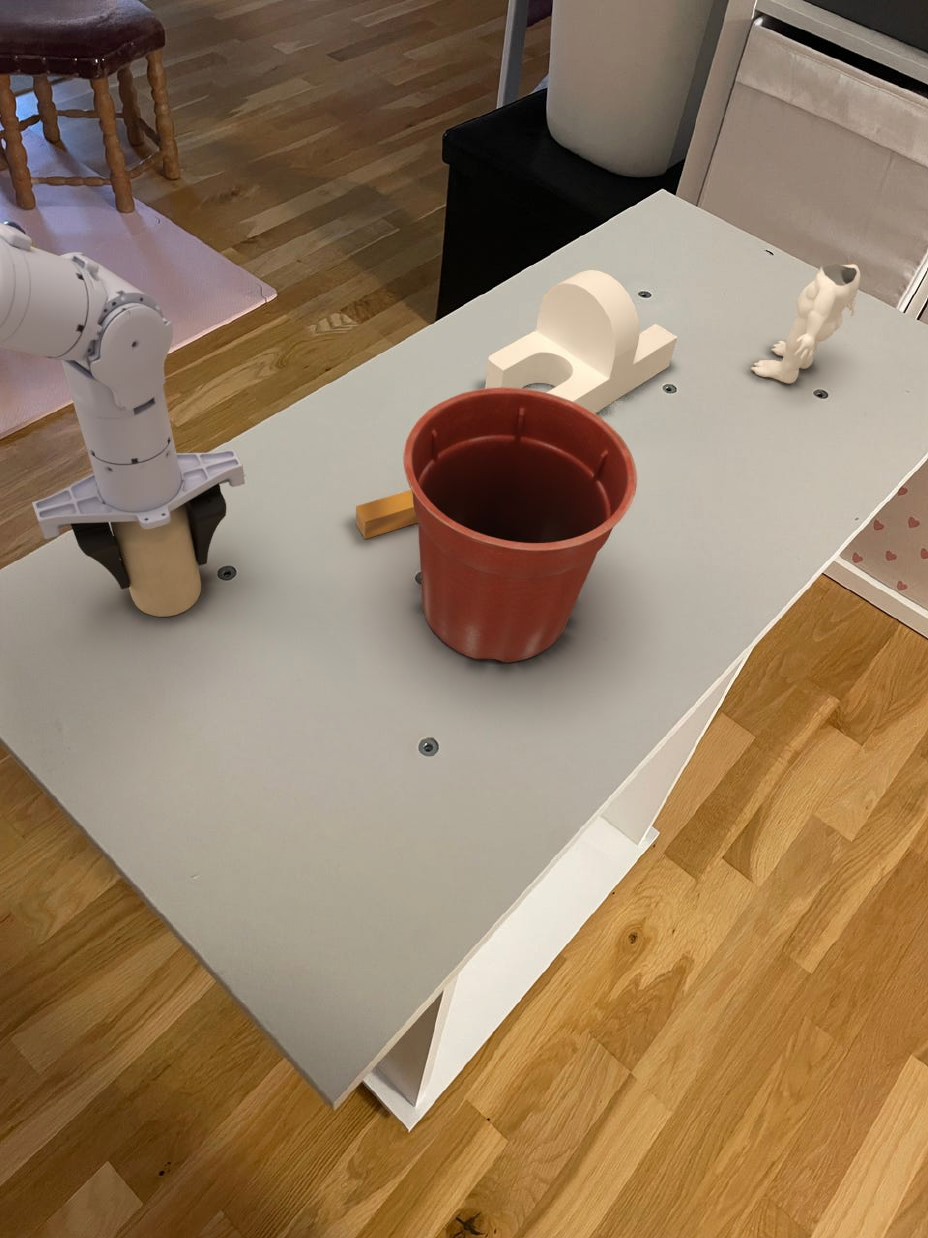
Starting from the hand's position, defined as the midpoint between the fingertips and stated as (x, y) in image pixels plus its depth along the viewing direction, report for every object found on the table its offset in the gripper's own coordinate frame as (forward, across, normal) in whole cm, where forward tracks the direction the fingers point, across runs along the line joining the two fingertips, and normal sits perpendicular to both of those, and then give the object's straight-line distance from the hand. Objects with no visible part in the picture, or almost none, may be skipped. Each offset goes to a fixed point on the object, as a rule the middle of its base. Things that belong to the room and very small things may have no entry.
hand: (160, 567), depth 78 cm
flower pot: (+3, +24, -12) cm, 27 cm away
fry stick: (+3, +24, 0) cm, 24 cm away
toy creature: (+3, +68, +4) cm, 68 cm away
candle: (+3, 0, 0) cm, 3 cm away
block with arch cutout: (+3, +46, +11) cm, 47 cm away
